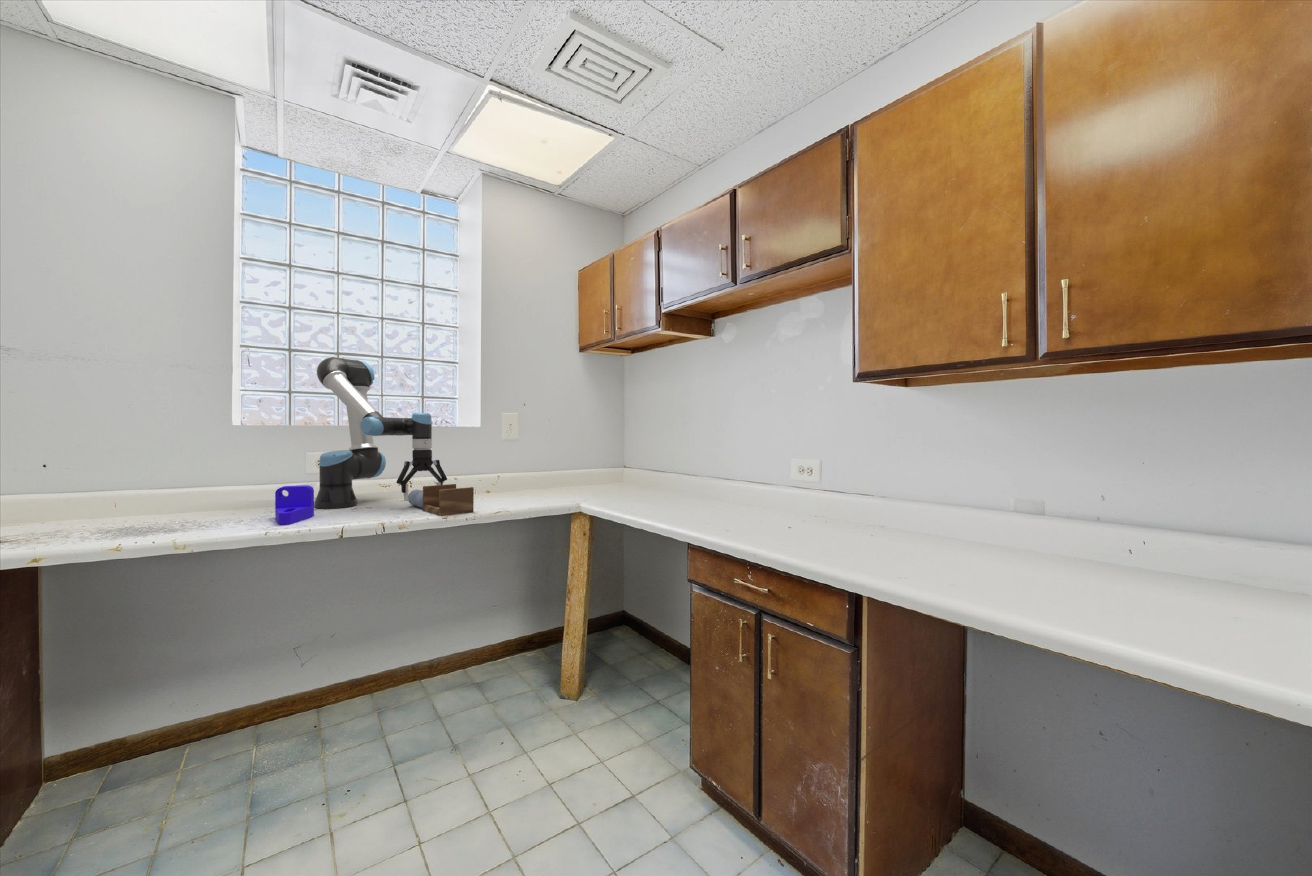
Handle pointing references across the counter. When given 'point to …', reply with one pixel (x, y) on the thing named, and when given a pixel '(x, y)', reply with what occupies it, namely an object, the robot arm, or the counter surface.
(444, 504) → the cradle
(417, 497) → the towel roll
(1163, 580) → the counter surface
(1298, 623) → the counter surface
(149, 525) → the counter surface
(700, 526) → the counter surface
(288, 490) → the bracket
